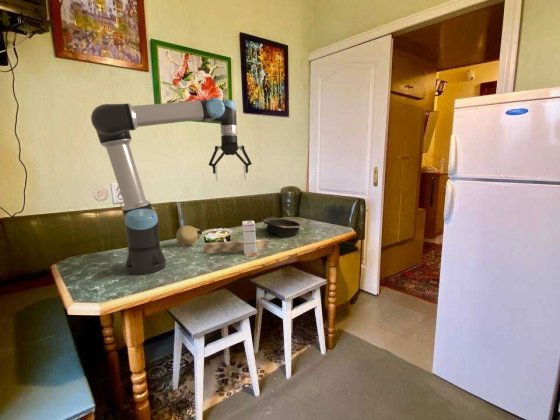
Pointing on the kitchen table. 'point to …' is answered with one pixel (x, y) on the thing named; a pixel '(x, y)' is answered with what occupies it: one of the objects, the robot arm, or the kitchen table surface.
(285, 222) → the stone bowl
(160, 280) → the kitchen table surface
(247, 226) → the syrup box
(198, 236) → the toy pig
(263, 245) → the maple fence
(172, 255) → the kitchen table surface
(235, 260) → the kitchen table surface
